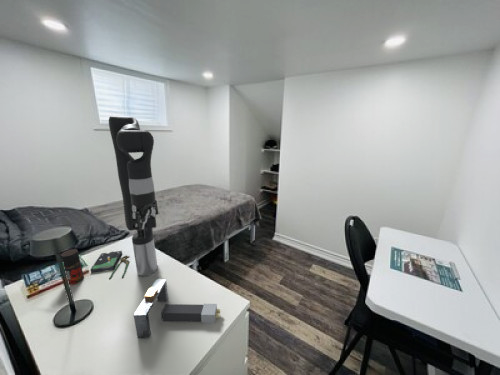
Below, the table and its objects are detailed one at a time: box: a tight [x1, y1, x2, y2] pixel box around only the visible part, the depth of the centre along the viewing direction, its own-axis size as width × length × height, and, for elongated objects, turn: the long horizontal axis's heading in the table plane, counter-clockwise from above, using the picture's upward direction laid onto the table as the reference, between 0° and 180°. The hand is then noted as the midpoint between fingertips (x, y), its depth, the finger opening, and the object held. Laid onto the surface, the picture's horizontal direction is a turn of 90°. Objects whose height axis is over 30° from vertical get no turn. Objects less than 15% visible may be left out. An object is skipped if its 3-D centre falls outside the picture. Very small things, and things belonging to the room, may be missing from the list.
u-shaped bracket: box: [133, 278, 169, 339], centre depth 77 cm, size 17×4×12 cm, turn 0°
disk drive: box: [90, 250, 123, 274], centre depth 110 cm, size 10×3×15 cm
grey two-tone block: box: [160, 303, 221, 324], centre depth 78 cm, size 5×22×4 cm, turn 90°
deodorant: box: [60, 248, 85, 286], centre depth 95 cm, size 6×6×15 cm
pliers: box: [108, 255, 130, 280], centre depth 107 cm, size 20×6×1 cm, turn 15°
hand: (147, 232), depth 75 cm, fingers open, 8 cm apart
